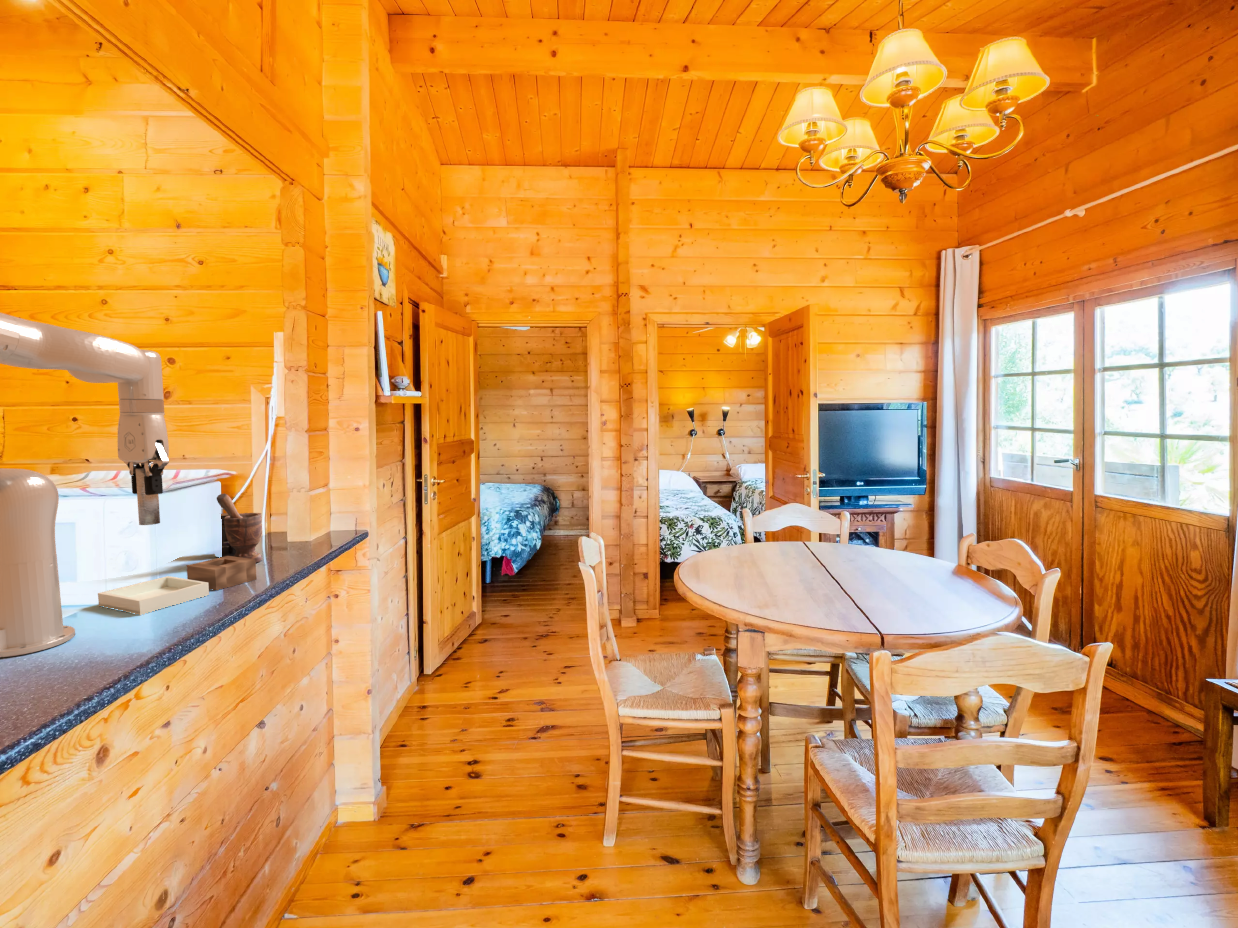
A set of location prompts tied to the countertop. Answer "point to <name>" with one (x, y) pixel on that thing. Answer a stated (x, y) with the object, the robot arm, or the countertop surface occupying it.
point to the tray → (153, 594)
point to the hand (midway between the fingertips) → (147, 492)
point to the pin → (146, 502)
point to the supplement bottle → (226, 540)
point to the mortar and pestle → (241, 529)
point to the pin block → (223, 571)
